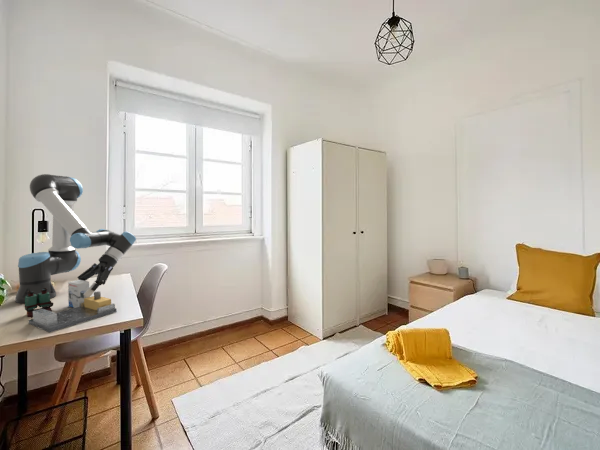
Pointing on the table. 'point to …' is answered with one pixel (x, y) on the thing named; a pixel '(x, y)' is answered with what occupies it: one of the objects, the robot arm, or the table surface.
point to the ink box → (77, 292)
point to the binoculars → (37, 301)
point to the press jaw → (96, 301)
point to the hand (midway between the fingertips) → (78, 294)
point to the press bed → (67, 317)
